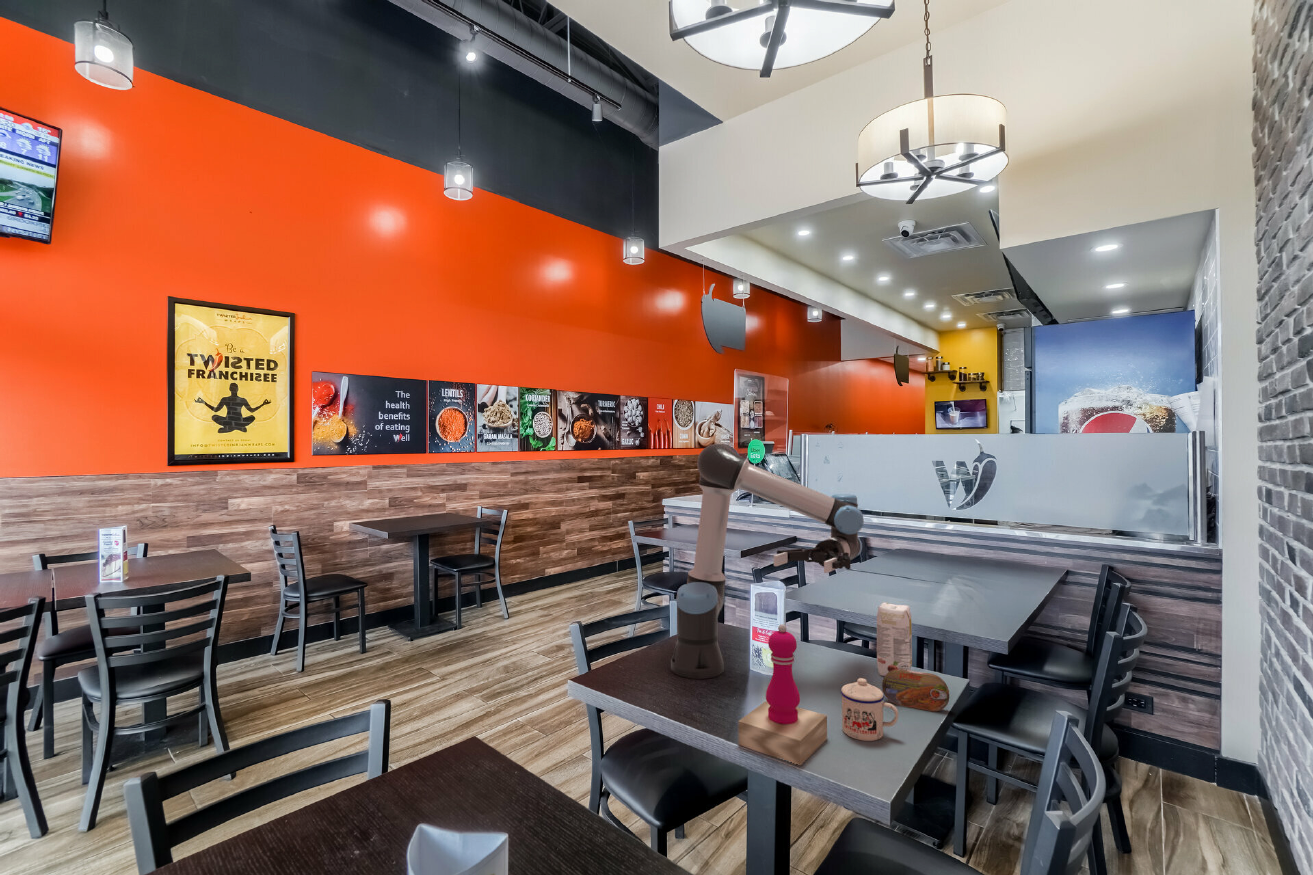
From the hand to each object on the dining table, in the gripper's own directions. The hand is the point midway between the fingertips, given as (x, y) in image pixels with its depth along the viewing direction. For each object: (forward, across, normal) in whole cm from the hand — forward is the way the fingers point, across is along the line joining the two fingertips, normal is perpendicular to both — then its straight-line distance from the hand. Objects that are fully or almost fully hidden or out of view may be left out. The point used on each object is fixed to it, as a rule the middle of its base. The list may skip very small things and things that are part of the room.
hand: (799, 564), depth 150 cm
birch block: (+22, -6, -34) cm, 41 cm away
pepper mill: (+22, -6, -29) cm, 37 cm away
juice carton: (-32, -14, -34) cm, 48 cm away
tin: (-14, -24, -34) cm, 44 cm away
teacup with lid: (+7, -20, -34) cm, 40 cm away
